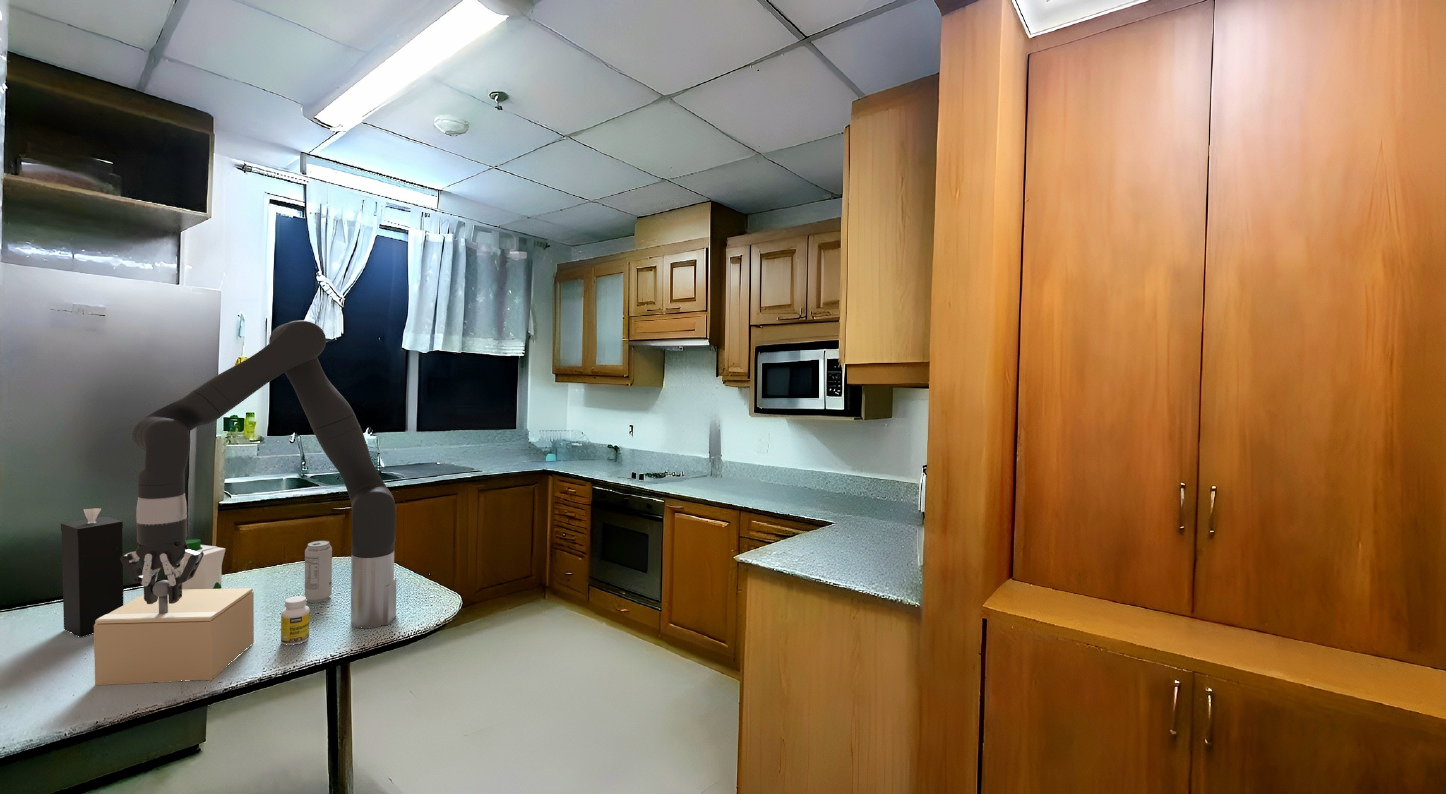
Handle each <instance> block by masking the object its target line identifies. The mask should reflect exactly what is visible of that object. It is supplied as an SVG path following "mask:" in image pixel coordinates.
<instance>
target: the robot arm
mask: <svg viewBox="0 0 1446 794" xmlns="http://www.w3.org/2000/svg"><path fill="white" fill-rule="evenodd" d="M268 342H269V343H268V344H266V346H265V347H263V348H261V349H260V350H259V351H258V352H256V353H255V354H253V355H251V356H250V357H248V358H246V359H244V360H243V361H241V362H239V363H238V364H236V365H234V366H232V367H230V368H228V369H226V370H225V371H223V372H221V373H219V374H217V375H215V376H214V377H212V378H211V379H209V380H207V381H205V382H204V383H203V384H201V385H199V386H198V387H196V388H195V389H193V390H192V391H191V392H189V393H188V394H186V395H185V396H184V397H182V398H179V399H178V400H176V401H173V402H171V403H169V404H167V405H165V406H163V407H161V408H159V409H156V410H155V411H153V412H151V413H149V414H147V415H146V416H145V417H143V418H142V419H140V420H139V421H138V422H137V423H136V424H135V426H134V427H133V429H132V433H131V437H132V441H133V443H134V444H135V446H137V447H139V448H140V449H142V450H145V456H144V457H145V459H144V467H142V468H141V469H140V470H139V472H138V474H137V475H138V476H137V502H136V503H137V504H136V515H135V517H136V542H137V544H138V545H137V548H136V549H135V551H129V552H128V553H125V554H123V556H121V557H120V560H121V562H122V564H123V569H125V570H124V571H126V574H127V575H128V577H129V579H130V582H131V583H132V584H140V585H142V586H143V594H144V600H145V601H147V604H153V603H155V602H157V600H158V596H156V595H155V594H154V593H153V590H152V589H153V586H154V585H155V584H156V583H157V582H156V581H157V580H158V576H159V572H160V570H161V569H162V570H163V571H164V575H165V576H167V580H168V581H169V584H170V586H168V594H169V604H174V603H176V602H177V601H179V599H180V598H181V597H182V583H184V582H186V581H187V580H189V579H191V578H193V576H194V574H195V572H196V570H197V568H198V566H199V564H200V562H201V559H202V557H203V555H204V553H203V552H202V551H199V552H194V551H191V550H189V547H188V546H187V544H186V540H187V539H188V538H187V537H188V517H187V515H188V512H187V511H188V510H187V509H188V506H187V505H188V504H187V499H186V488H185V487H186V480H185V479H186V477H185V475H186V474H185V470H186V467H187V464H188V459H189V454H190V451H191V434H190V432H191V431H192V430H194V429H195V428H198V427H199V426H205V425H209V424H212V423H213V422H215V421H217V420H219V419H220V418H221V417H223V416H224V415H226V414H227V413H229V412H230V411H231V410H233V409H234V408H236V407H237V406H239V405H240V404H241V403H243V402H244V401H245V400H247V398H249V397H251V396H252V395H253V394H254V393H257V391H259V390H260V389H261V388H263V387H264V386H266V385H267V384H268V383H270V382H271V381H273V380H275V379H276V378H278V377H280V376H281V375H283V374H284V375H285V376H286V377H287V379H288V381H289V382H290V384H291V385H292V388H293V389H294V391H295V394H296V396H297V398H298V400H299V403H300V405H301V408H302V409H303V411H304V413H305V415H306V418H307V420H308V423H309V425H310V428H311V429H312V432H313V434H314V436H315V438H316V439H317V441H318V443H319V445H320V447H321V449H322V450H323V452H324V454H325V455H326V457H327V458H328V460H329V461H330V462H331V463H332V465H333V466H334V468H336V470H337V471H338V473H339V474H340V476H341V479H342V480H343V483H344V485H345V489H346V492H347V494H348V497H349V501H350V504H351V563H350V566H351V567H350V568H351V571H350V575H351V576H350V625H351V626H352V625H353V626H352V627H354V626H355V627H354V628H357V627H360V628H359V629H370V628H369V627H373V628H376V627H378V628H379V627H381V625H382V626H388V625H389V624H390V623H391V622H392V621H393V619H394V618H395V617H396V616H397V578H395V542H396V527H397V526H396V522H397V521H396V520H397V519H396V518H397V517H396V516H397V510H396V509H397V508H396V507H397V506H396V502H395V499H394V498H395V497H394V495H393V494H392V492H391V491H390V490H389V488H388V486H387V485H386V483H385V482H384V480H383V479H382V478H381V475H380V474H379V472H378V470H377V469H376V466H375V465H374V463H373V461H372V458H371V457H372V456H371V454H370V451H369V447H368V444H367V441H366V437H365V434H364V432H363V429H362V428H361V425H360V423H359V421H358V418H357V417H356V414H355V412H354V409H353V408H352V407H351V405H350V404H349V402H348V401H347V400H346V399H345V397H344V396H343V395H342V393H340V392H339V391H338V389H337V388H336V387H335V386H334V385H333V384H332V382H331V381H330V380H329V379H328V376H326V374H325V372H324V370H323V368H322V365H321V362H320V360H319V358H318V356H320V355H321V353H323V351H324V350H325V348H326V343H327V337H326V334H325V331H324V330H323V328H322V327H321V326H319V325H318V324H316V323H315V322H313V321H310V320H304V319H303V320H301V319H300V320H298V319H297V320H293V321H289V322H287V323H283V324H281V325H279V326H277V327H276V328H274V329H273V330H272V331H271V333H270V335H269V339H268ZM184 556H186V562H187V564H186V566H185V568H184V570H183V572H182V569H183V566H182V562H181V560H182V559H183V557H184ZM140 560H141V561H142V563H144V564H143V566H142V564H141V561H140ZM172 567H173V568H172ZM361 627H362V628H361Z"/></svg>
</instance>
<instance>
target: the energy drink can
mask: <svg viewBox="0 0 1446 794" xmlns="http://www.w3.org/2000/svg"><path fill="white" fill-rule="evenodd" d="M332 561H333V547H332V546H331V544H330V541H329V540H314V541H311V542H309V543H307V547H306V548H305V549H304V597H306V602H308V603H310V604H312V603H315V604H317V603H322V602H325V601H327V600H329V599H330V597H331V596H332V594H333V593H332V592H333V591H332V588H333V585H332V583H333V582H332V581H333V577H332V576H333V565H332V564H333V562H332Z"/></svg>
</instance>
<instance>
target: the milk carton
mask: <svg viewBox="0 0 1446 794" xmlns="http://www.w3.org/2000/svg"><path fill="white" fill-rule="evenodd" d="M186 544H187V546H188V547H189V550H191V551H194V552H199V551H202V552H203V553H204V555H203V557H202V559H201V562H200V564H199V566H198V568H197V570H196V572H195V574H194V576H193V578H191V579H189V580H187V581H186V582H184V583H182V589H222V565H223V560H224V557H225V552H226V550H227V548H224V547H218V546H215V545H205V544H201V539H199V538H186ZM181 562H182V566H183V569H182V572H183V570H184V568H185V566H186V564H187V562H186V556H184V557H183V559H182V560H181ZM172 568H173V567H172Z"/></svg>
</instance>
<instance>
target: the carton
mask: <svg viewBox="0 0 1446 794" xmlns="http://www.w3.org/2000/svg"><path fill="white" fill-rule="evenodd" d="M254 595H255V594H254V591H252V592H250V593H249V594H248V595H246V596H245V597H243V598H242V599H240V600H239V601H238V602H236V603H235V604H233V605H232V606H230V607H229V608H228V609H226V610H225V611H223V612H222V613H221V614H219V615H218V616H216V617H215V618H213V619H212V620H211V621H182V622H141V623H101V624H95V625H94V634H93V644H94V645H93V647H94V650H93V654H94V685H95V686H100V685H101V686H102V685H103V686H104V685H127V684H152V683H153V682H158V683H174V682H173V681H181V680H182V681H183V682H186V681H185V680H208V681H212V680H214V679H215V678H216V677H217V676H218V675H220V674H221V673H222V672H223V671H224V670H225V669H227V667H226V666H228V664H229V663H231V661H233V660H234V659H235V658H236V657H237V656H238V655H239V654H241V653H242V652H243V651H244V650H245V649H246V648H248V647H249V646H250V645H251V644H253V643H254V642H255V640H254V635H255V634H254V633H255V630H254V628H255V627H254V625H255V623H254V621H255V617H254V615H255V611H254V610H255V609H254V601H255V600H254V599H255V598H254V597H255V596H254ZM254 644H255V643H254ZM254 644H253V645H254ZM233 662H234V661H233ZM231 664H232V663H231ZM228 667H229V666H228ZM224 668H225V669H224ZM223 669H224V670H223ZM221 671H222V672H221ZM220 672H221V673H220ZM213 678H214V679H213ZM169 681H171V682H169Z"/></svg>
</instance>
